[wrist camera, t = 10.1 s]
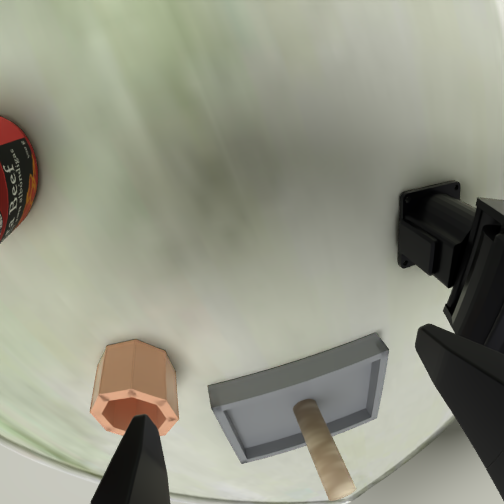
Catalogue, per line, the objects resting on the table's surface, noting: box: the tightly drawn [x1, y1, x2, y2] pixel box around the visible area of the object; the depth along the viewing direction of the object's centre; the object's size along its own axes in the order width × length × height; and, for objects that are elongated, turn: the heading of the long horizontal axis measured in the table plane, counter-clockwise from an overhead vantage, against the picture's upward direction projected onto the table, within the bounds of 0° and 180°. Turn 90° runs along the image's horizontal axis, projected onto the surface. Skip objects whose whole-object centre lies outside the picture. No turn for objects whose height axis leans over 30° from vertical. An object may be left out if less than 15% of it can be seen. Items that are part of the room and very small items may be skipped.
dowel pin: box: [293, 399, 356, 501], centre depth 25 cm, size 2×2×10 cm
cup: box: [90, 339, 179, 436], centre depth 22 cm, size 6×6×5 cm
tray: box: [208, 333, 389, 464], centre depth 29 cm, size 16×12×2 cm
